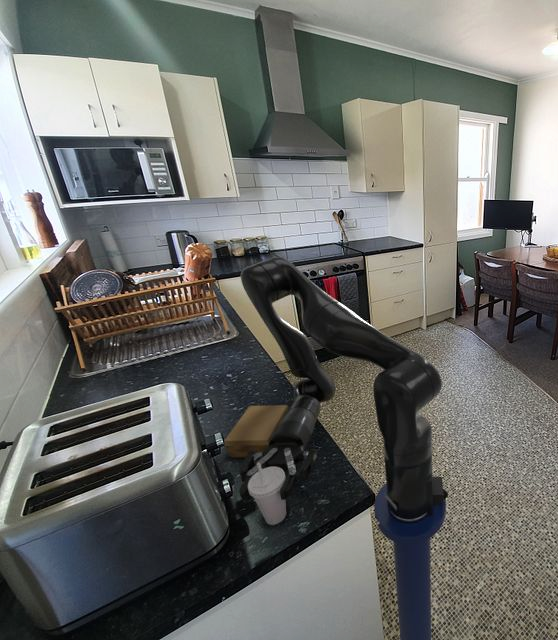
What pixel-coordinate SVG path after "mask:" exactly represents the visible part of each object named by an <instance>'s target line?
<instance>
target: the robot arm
mask: <svg viewBox="0 0 558 640" xmlns="http://www.w3.org/2000/svg"><path fill="white" fill-rule="evenodd" d="M240 272H241V273H240V281H241V285H242V287H243V289H244V291H245V294H246V296H247V297H248V299H249V300H250V302H251V304H252V305H253V307H254V308H255V310H256V312H257V314H258V315H259V317H260V318H261V320H262V321H263V323H264V325H265V326H266V328H267V329H268V331H269V332H270V333H271V336H272V337H273V338H274V340H275V341H276V343H277V345H278V346H279V348H280V350H281V353H282V355H283V357H284V359H285V361H286V364H287V365H288V368H289V370H290V372H291V374H292V375H293V376H294V377H296V378H300V380H298V381H297V382H296V383H295V384H294V386H293V394H292V400H291V405H290V407H288V412H287V414H286V415H285V416H284V417H283V419H282V420H281V422H280V424H279V426H278V427H277V429H276V431H275V433H274V435H273V436H272V438H271V440H270V443H269V446H268V447H267V448H266V449H265V450H264V451H263V452H261V453H255V451H254V450H250V451H249V452H248V454H247V456H246V457H244V460H243V463H242V464H241V467H240V468H239V471H238V472H239V475H240V479H241V482H242V484H241V486H240V488H239V489H238V491H239V496H240V499H241V500H242V501H248V500H249V498H250V496H251V495H250V494H249V491H248V482H249V480H250V479H251V477H252V476H253V475H254V474H255V473H257V472H258V471H259V470H258V467H257V463H258V462H260V464H261V468H262V469H264V468H267V467H279V468H281V469H282V470H283V471H284V473H286V472H287V471H288V475H285V476H286V479H285V481H284V483H283V486H282V488H281V490H280V496H281V500H285V501H286V500H287V498H288V497H290V496H291V495H292V494H293V491H294V488H295V485H296V484H297V483H298V482H299V481H303V482H306V481H307V480H308V479H309V478H310V475H311V474H312V471H313V469H314V467H315V465H316V463H317V461H318V457H317V451H316V449H315V448H311V449H309V450H308V451H306V450H307V447H308V445H309V442H310V440H311V437H312V436H313V434H314V430H315V425H316V423H317V420H318V419H319V416H320V413H321V403H326V402H327V403H328V402H329V401H331V400H333V398H334V397H335V396H336V383H335V381H334V379H333V377H332V376H331V374H329V373H328V371H327V370H326V369H325V367H324V366H323V365H322V364H321V362H320V361H319V359H318V357H317V355H316V352H315V349H314V347H313V344H312V342H311V341H310V339H309V338H308V337H307V335H308V336H309V337H310V338H312V340H313V341H314V342H316V343H318V345H320V346H321V347H322V348H323V349H325V350H326V351H328V352H329V353H332V354H334V355H336V356H339V357H344V358H348V359H352V360H358V361H362V362H367V363H369V364H373V365H375V366H377V367H379V368H380V369H382V371H380V372H379V373H378V374H377V375H376V376H375V378H374V381H373V385H372V386H373V388H372V391H373V393H372V394H373V401H374V407H375V414H376V420H377V421H376V422H377V426H378V429H379V432H380V434H381V437H382V443H383V457H384V469H385V470H384V472H385V484H387V495H386V493H385V497H386V499H387V503H388V510H389V512H390V514H391V515H392V517H393V518H395V519H396V520H398V521H400V522H403V523H415V522H418V521H421V520H422V519H424V518H425V517H426V516H431V515H433V505H443V500H444V499H446V500H447V498H448V497H449V492H448V490H446V489H445V488H444V482H443V476H433V429H432V425H431V423H430V421H429V420H428V418H427V417H425V416H423V415H421V414H420V413H418V412H420V411H421V410H422V409H423V408H425V407H426V406H427V405H429V403H431V402H432V401H433V400H434V399H435V398H436V397H437V396H438V395H439V394H440V392H441V391H442V387H443V383H442V377H441V374H440V373H439V371H438V369H437V368H436V367H435V366H434V364H433V363H431V362H430V361H429V360H428V359H427V358H426V357H424V356H423V355H421V354H420V353H418V352H416V351H414V350H412V349H411V348H409V347H408V346H405V345H404V344H402V343H400V342H399V341H397V340H395V339H394V338H392V337H390V336H389V335H386V334H385V333H383V332H382V331H380V330H379V329H378V328H376V327H374V326H373V325H372V324H370V323H369V322H367V321H366V320H364V319H363V318H361V316H359V315H358V314H357V313H355V312H354V311H353V310H351V309H350V308H349V307H347V306H346V305H344V304H343V303H341V302H340V301H338V300H337V299H335V298H334V297H332V296H331V295H330V294H328V292H326V291H324V290H323V289H322V288H321V287H320V286H318V285H316V284H315V283H314V282H313V281H312V280H310V278H308V277H307V276H306V274H304V273H303V272H302V271H301V270H299V269H298V267H296V266H295V265H294V264H293V263H292V262H290V261H289V260H288V259H286V258H284V257H282V256H274V257H271V258H268V259H265V260H262V261H260V262H257V263H255V264H252V265H250V266H249V265H248V266H247V267H245V268H243V269H242V270H241V271H240ZM289 296H294V297H296V298H297V299H298V300H299V301H300V307H301V308H300V309H301V321H302V325H303V328H304V330H305V332H306V334H307V335H306V334H305V333H303V332H302V331H301V330H300V329H298V328H297V327H295V326H293V325H292V324H290V323H289V322H287V321H286V320H284V318H282V317H281V316H280V315H279V313H277V311H276V309H275V308H274V305H273V304H274V303H276V302H277V301H280V300H281V299H284V298H286V297H289ZM303 460H304V461H303ZM302 461H303V462H302ZM300 462H302V464H301V466H300V468H299V469H298V470H297V469H296V467H295V466H296V465H297V464H299V463H300ZM443 494H444V495H443Z"/></svg>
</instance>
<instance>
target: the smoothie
mask: <svg viewBox="0 0 558 640" xmlns="http://www.w3.org/2000/svg"><path fill="white" fill-rule="evenodd" d="M257 467H258V470H259V471H258V472H257V473H255V474H254V475H253V476H252V477H251V479H250V480H249V482H248V491H249V494H250V496H251V497H252V498H253V500H254V501H255V503H256V505H257V507H258V508H259V511H260V512H261V514H262V517H263V519H264V520H265V522H266V524H268V525H270V526H275V525H278V524H280V523H281V522H283V521H284V519H285V518H286V516H287V504H286V503H287V502H286V500H281V496H280V490H281V488H282V486H283V483H284V481H285V479H286V476H287V475H286V472H284V471H283V470H282V469H281V468H279V467H267V468H266V467H265V468H264V469H262V468H261V464H260V462H258V463H257Z"/></svg>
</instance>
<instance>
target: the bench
mask: <svg viewBox="0 0 558 640" xmlns="http://www.w3.org/2000/svg"><path fill="white" fill-rule="evenodd" d="M288 410H289V407H288V404H280V405H277V404H276V405H249V406H248V407H247V409H246V410H245V411H244V413H243V414H242V416H241V417H240V418H239V420H238V421H237V423H236V424H235V425H234V426H233V428H232V429H231V431H230V432H229V433H228V434H227V436H226V437H225V438H224V440H223V442H224V445H225V448H226V452H227V455H228V458H246V456H247V454H248V452H249V451H250V450H254V451H255V453H261V452H263V451H264V450H265V449H266V448H267V447H268V446H269V443H270V440H271V438H272V436H273V435H274V433H275V431H276V429H277V427H278V426H279V424H280V422H281V420H282V419H283V417H284V416H285V415H286V414H287V412H288Z"/></svg>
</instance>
